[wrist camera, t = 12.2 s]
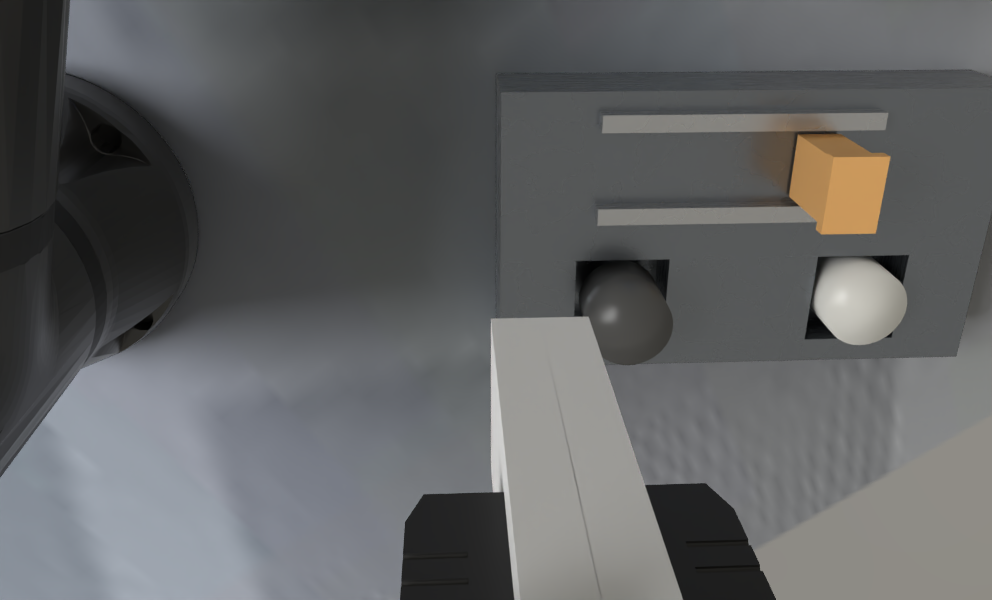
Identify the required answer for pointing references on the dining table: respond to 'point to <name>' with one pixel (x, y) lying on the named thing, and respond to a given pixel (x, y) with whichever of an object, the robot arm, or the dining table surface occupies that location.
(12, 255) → the robot arm
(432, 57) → the dining table surface
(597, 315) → the black button
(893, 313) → the white button
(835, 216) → the toggle knob
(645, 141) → the panel
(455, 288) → the dining table surface
